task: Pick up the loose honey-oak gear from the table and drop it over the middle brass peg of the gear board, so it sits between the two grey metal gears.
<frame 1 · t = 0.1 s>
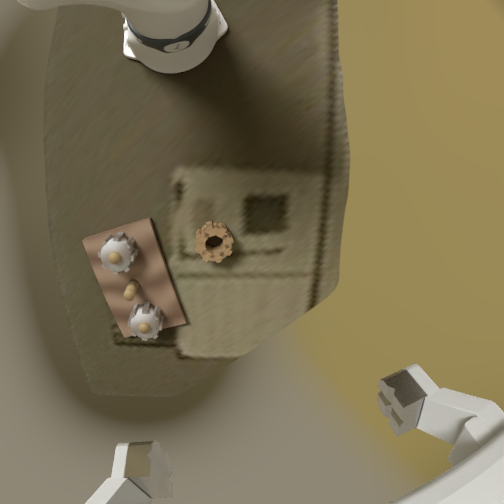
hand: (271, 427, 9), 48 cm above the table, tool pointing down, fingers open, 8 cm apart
gear board: (135, 280, 57), on the table
oak gear: (213, 238, 56), on the table
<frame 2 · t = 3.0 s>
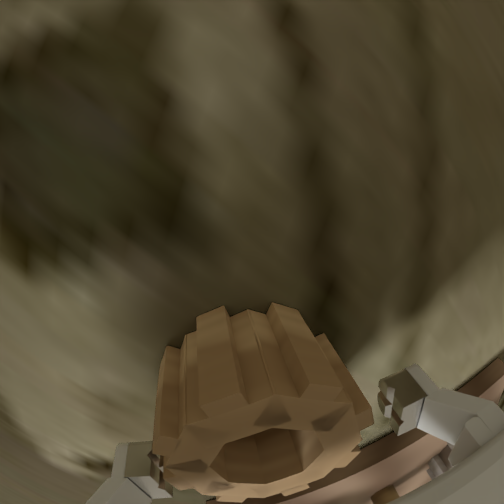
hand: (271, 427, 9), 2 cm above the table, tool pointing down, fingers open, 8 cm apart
gear board: (375, 478, 17), on the table
oak gear: (247, 376, 11), on the table
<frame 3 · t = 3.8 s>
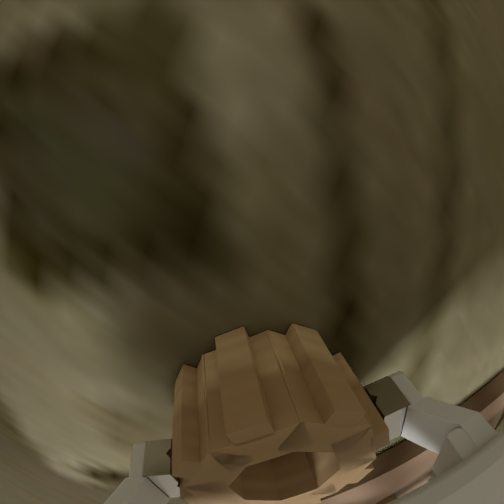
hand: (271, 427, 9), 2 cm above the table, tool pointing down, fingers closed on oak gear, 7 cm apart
gear board: (377, 488, 17), on the table
oak gear: (262, 394, 11), on the table, touching gripper
when the fingers open (4 cm above the table, at t = 9.9 s): oak gear stays where it is, resting on gear board.
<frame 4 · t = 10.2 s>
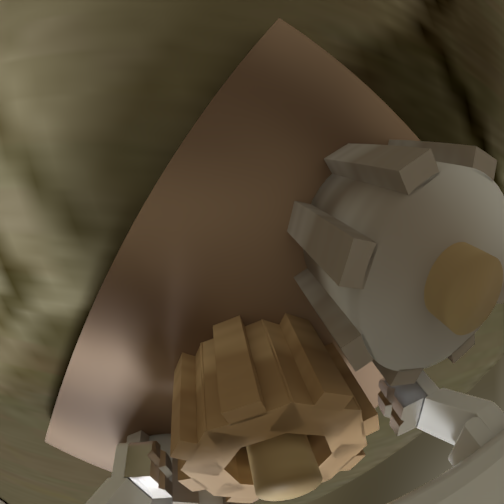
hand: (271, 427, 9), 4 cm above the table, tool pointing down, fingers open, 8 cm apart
gear board: (254, 359, 13), on the table
oak gear: (258, 382, 12), point 1 cm above the table, touching gear board
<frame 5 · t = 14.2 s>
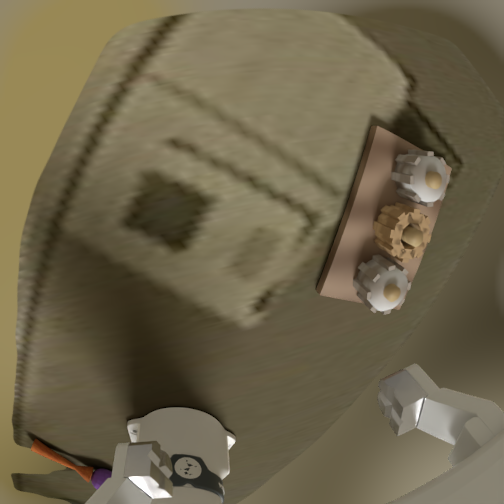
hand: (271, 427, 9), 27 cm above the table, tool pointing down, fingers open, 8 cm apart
gear board: (388, 224, 38), on the table
oak gear: (393, 227, 36), point 1 cm above the table, touching gear board
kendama: (76, 458, 46), on the table
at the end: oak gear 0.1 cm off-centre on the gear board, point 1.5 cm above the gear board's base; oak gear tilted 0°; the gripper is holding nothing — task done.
